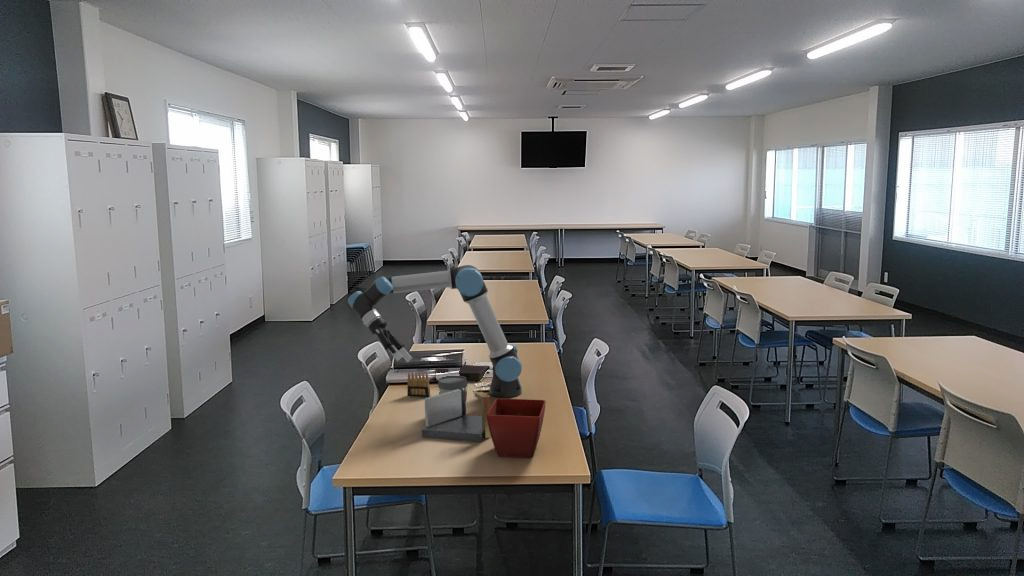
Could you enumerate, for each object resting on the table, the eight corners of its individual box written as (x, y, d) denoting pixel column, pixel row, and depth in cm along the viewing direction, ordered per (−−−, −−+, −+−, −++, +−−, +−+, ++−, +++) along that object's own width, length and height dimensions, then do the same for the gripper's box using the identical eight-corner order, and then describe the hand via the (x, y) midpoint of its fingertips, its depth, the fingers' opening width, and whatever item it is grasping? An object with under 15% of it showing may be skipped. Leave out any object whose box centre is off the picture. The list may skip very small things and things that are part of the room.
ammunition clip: (430, 396, 324) (429, 371, 322) (429, 397, 322) (427, 372, 320) (408, 395, 326) (407, 370, 324) (407, 396, 324) (406, 371, 322)
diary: (444, 372, 368) (444, 363, 368) (490, 374, 363) (489, 364, 362) (432, 381, 350) (432, 371, 350) (480, 383, 345) (480, 373, 344)
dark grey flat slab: (440, 420, 290) (440, 413, 289) (495, 424, 283) (495, 417, 283) (422, 437, 271) (421, 429, 270) (480, 441, 264) (480, 434, 264)
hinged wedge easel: (463, 412, 288) (462, 387, 286) (467, 414, 286) (466, 388, 284) (424, 425, 274) (423, 398, 273) (429, 426, 272) (428, 399, 271)
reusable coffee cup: (474, 412, 299) (473, 378, 297) (452, 420, 290) (451, 385, 288) (454, 406, 307) (453, 373, 305) (433, 413, 298) (431, 380, 296)
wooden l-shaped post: (482, 431, 275) (481, 391, 273) (491, 437, 269) (490, 396, 266) (476, 433, 273) (474, 392, 271) (484, 438, 267) (483, 397, 265)
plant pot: (540, 462, 243) (539, 416, 241) (487, 460, 246) (485, 414, 244) (546, 442, 262) (546, 399, 260) (496, 440, 265) (495, 398, 263)
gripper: (378, 330, 310) (407, 366, 306) (357, 325, 286) (388, 364, 282) (390, 319, 310) (420, 355, 306) (371, 313, 286) (402, 352, 281)
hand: (405, 359), depth 294 cm, fingers open, 13 cm apart
